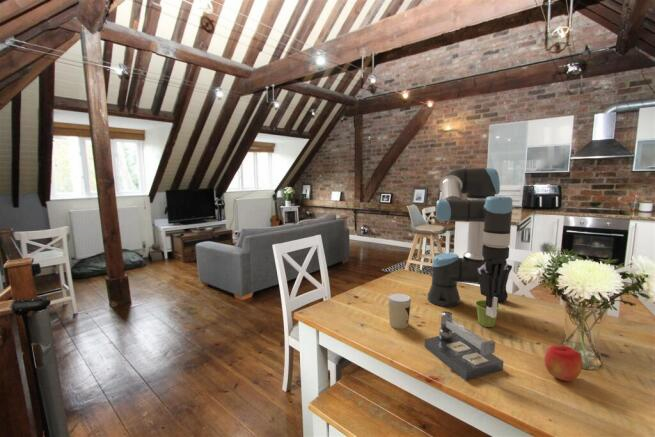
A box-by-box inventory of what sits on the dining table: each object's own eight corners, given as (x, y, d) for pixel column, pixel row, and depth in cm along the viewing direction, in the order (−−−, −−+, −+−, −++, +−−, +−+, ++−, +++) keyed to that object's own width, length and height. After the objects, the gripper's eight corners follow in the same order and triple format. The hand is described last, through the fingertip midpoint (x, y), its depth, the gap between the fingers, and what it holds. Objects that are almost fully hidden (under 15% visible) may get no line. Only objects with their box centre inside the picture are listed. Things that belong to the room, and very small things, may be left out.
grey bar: (437, 327, 113) (438, 312, 113) (447, 325, 115) (448, 310, 114) (483, 359, 94) (484, 341, 93) (494, 356, 96) (495, 338, 95)
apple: (588, 384, 92) (592, 353, 91) (565, 391, 89) (568, 359, 88) (556, 365, 101) (559, 337, 100) (534, 370, 98) (537, 341, 97)
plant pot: (470, 324, 129) (471, 305, 127) (477, 316, 135) (479, 298, 134) (495, 332, 122) (496, 311, 121) (501, 323, 129) (503, 304, 128)
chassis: (457, 338, 118) (457, 324, 117) (502, 369, 99) (504, 352, 98) (424, 346, 113) (424, 331, 112) (465, 380, 94) (467, 362, 93)
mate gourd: (507, 299, 154) (508, 280, 152) (506, 305, 147) (508, 285, 146) (490, 296, 157) (492, 277, 156) (489, 302, 151) (491, 282, 149)
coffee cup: (411, 330, 124) (411, 302, 123) (387, 328, 126) (387, 300, 124) (409, 320, 133) (410, 293, 132) (387, 318, 135) (388, 292, 133)
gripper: (501, 241, 103) (496, 308, 106) (470, 244, 99) (466, 314, 102) (521, 245, 96) (516, 317, 99) (489, 249, 92) (485, 324, 95)
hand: (491, 315), depth 101 cm, fingers closed
